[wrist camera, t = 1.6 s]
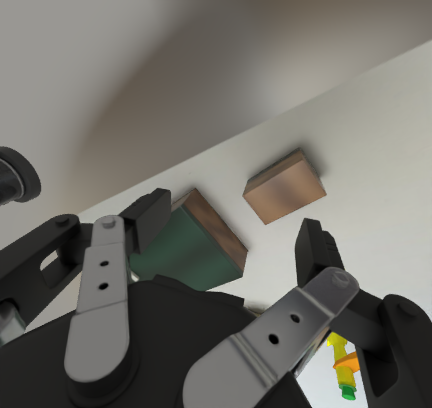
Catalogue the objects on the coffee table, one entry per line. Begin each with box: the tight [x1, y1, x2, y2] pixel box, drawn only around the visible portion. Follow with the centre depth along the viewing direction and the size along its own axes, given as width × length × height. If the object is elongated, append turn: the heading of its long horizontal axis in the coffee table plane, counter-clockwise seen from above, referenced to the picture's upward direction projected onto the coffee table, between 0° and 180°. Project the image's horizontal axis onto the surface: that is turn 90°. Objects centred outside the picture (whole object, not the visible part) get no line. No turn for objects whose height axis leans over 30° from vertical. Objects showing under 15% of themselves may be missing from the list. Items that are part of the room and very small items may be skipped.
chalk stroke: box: [131, 271, 139, 282], centre depth 38 cm, size 4×1×1 cm, turn 45°
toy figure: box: [327, 332, 360, 400], centre depth 33 cm, size 7×4×12 cm, turn 158°
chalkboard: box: [130, 188, 248, 291], centre depth 39 cm, size 14×26×6 cm, turn 130°
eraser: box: [243, 148, 327, 225], centre depth 27 cm, size 8×5×5 cm, turn 130°
